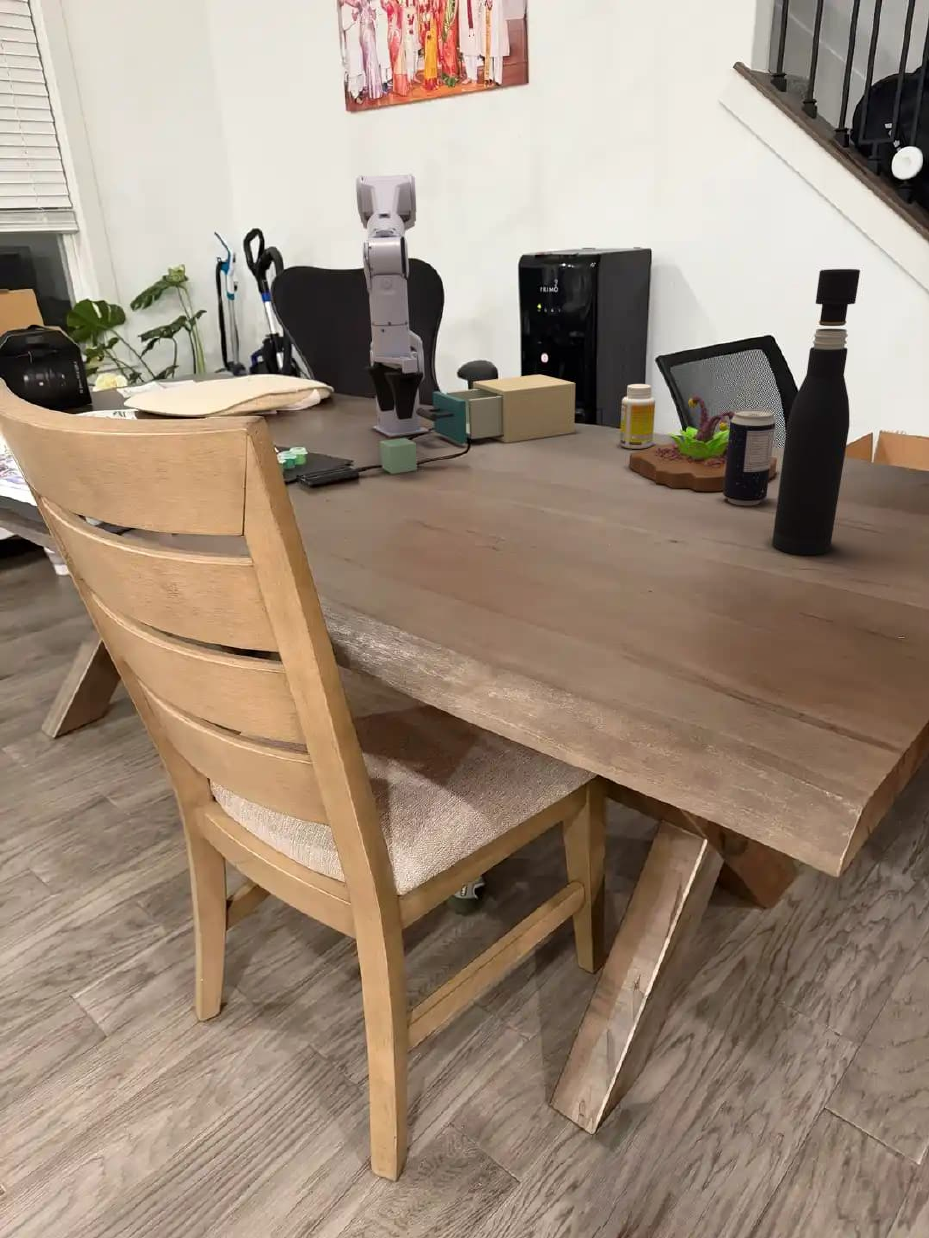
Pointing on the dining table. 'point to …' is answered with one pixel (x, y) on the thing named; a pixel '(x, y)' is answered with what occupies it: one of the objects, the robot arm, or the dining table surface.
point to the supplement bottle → (637, 417)
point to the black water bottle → (817, 429)
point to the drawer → (466, 414)
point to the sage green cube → (398, 455)
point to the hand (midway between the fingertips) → (395, 414)
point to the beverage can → (749, 456)
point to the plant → (691, 456)
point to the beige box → (533, 406)
